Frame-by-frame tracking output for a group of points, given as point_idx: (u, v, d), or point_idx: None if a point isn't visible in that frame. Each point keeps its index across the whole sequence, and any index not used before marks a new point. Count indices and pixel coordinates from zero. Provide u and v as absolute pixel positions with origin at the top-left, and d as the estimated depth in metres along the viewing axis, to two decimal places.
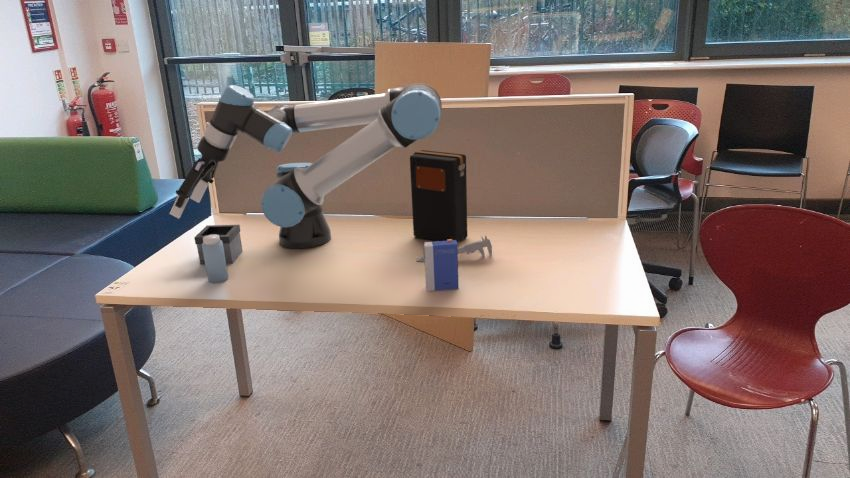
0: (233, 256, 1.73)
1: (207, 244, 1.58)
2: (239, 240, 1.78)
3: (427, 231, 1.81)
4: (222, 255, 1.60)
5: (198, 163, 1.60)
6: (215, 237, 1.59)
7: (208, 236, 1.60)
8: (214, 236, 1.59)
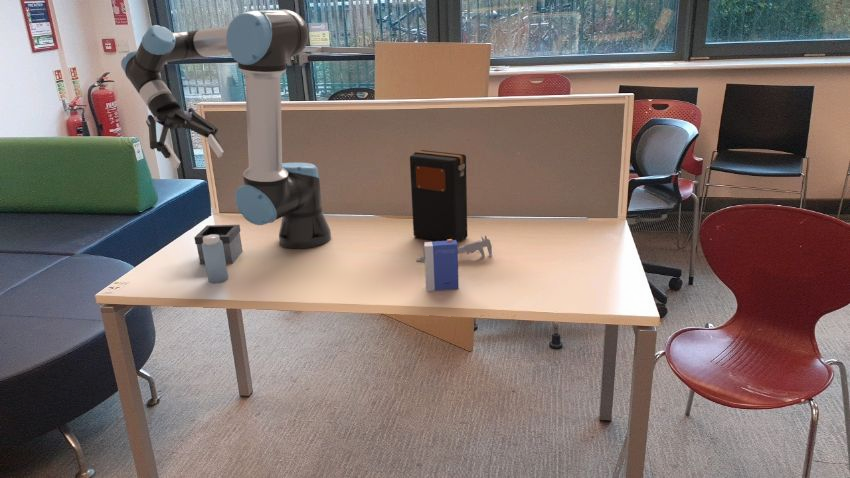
0: (233, 256, 1.73)
1: (207, 244, 1.58)
2: (239, 240, 1.78)
3: (427, 231, 1.81)
4: (222, 255, 1.60)
5: (147, 119, 1.71)
6: (215, 237, 1.59)
7: (208, 236, 1.60)
8: (214, 236, 1.59)
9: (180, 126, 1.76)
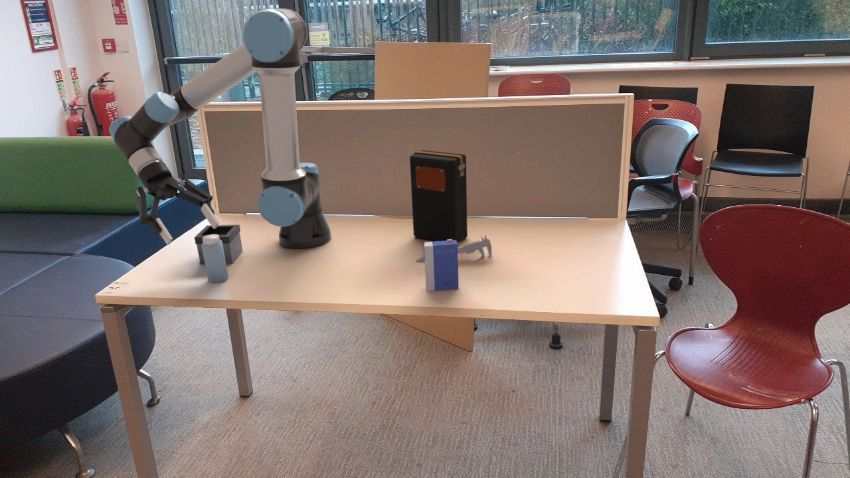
0: (233, 256, 1.73)
1: (207, 244, 1.58)
2: (239, 240, 1.78)
3: (427, 231, 1.81)
4: (221, 255, 1.60)
5: (136, 191, 1.60)
6: (215, 237, 1.59)
7: (208, 236, 1.60)
8: (214, 236, 1.59)
9: (172, 196, 1.65)
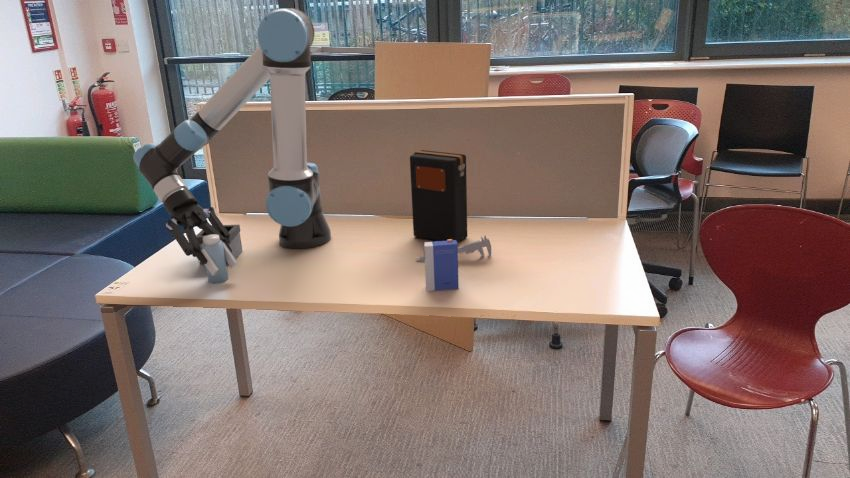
0: None
1: (207, 244, 1.58)
2: (239, 240, 1.78)
3: (427, 231, 1.81)
4: (221, 255, 1.60)
5: (166, 225, 1.57)
6: (215, 237, 1.59)
7: (208, 236, 1.60)
8: (214, 236, 1.59)
9: (198, 224, 1.63)
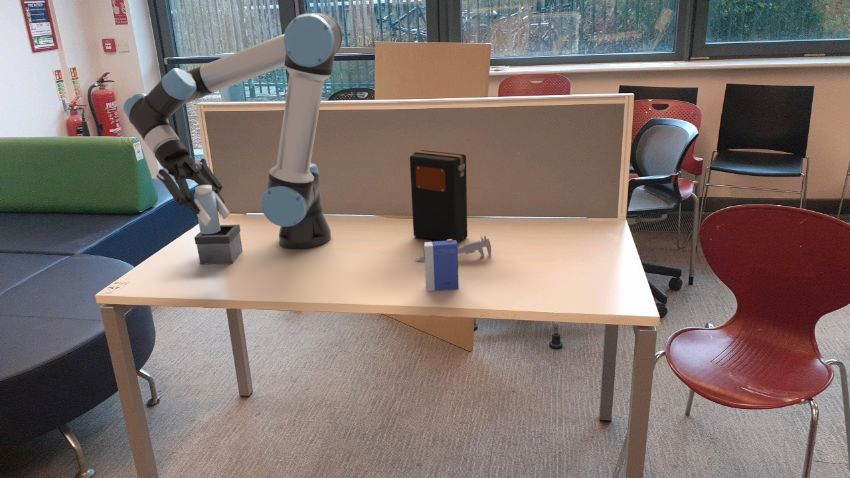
0: (233, 256, 1.73)
1: (199, 193, 1.56)
2: (239, 240, 1.78)
3: (427, 231, 1.81)
4: (214, 205, 1.58)
5: (157, 174, 1.56)
6: (207, 187, 1.57)
7: (200, 186, 1.58)
8: (206, 186, 1.58)
9: (190, 175, 1.61)
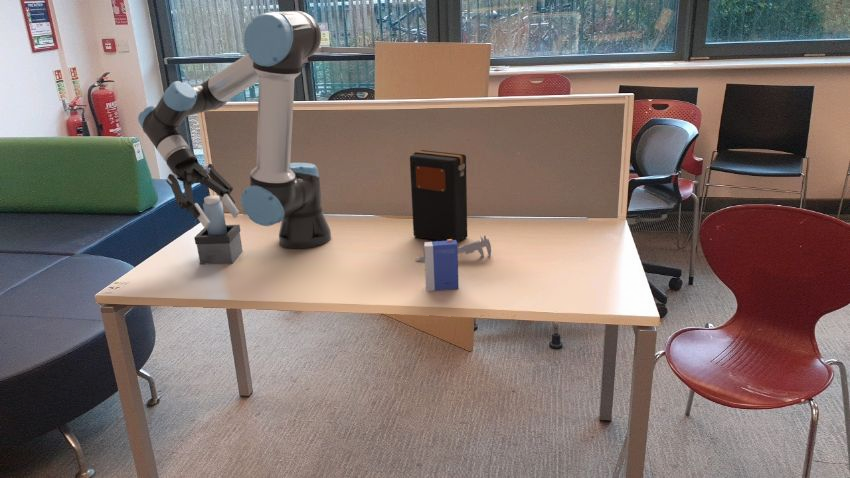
0: (233, 256, 1.73)
1: (208, 203, 1.69)
2: (239, 240, 1.78)
3: (427, 231, 1.81)
4: (221, 214, 1.71)
5: (167, 178, 1.69)
6: (215, 197, 1.70)
7: (209, 196, 1.71)
8: (215, 196, 1.71)
9: (199, 181, 1.74)
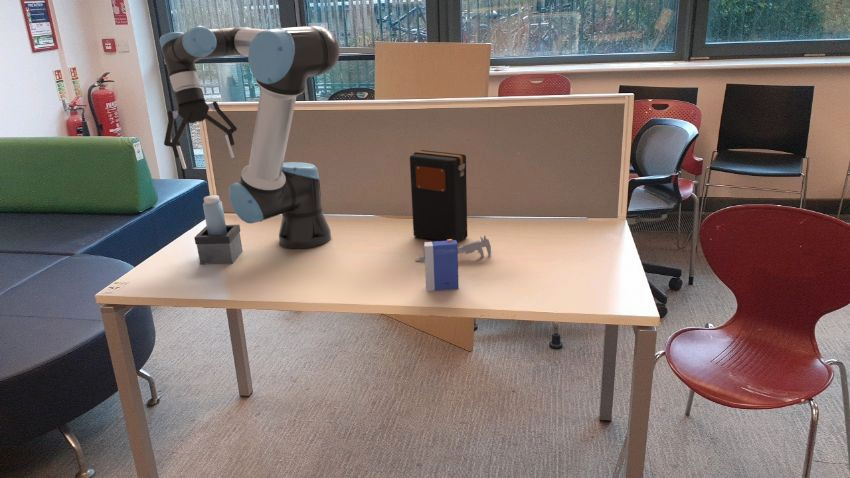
0: (233, 256, 1.73)
1: (208, 203, 1.69)
2: (239, 240, 1.78)
3: (427, 231, 1.81)
4: (221, 214, 1.71)
5: None
6: (215, 197, 1.70)
7: (208, 196, 1.71)
8: (214, 196, 1.71)
9: (200, 121, 1.80)
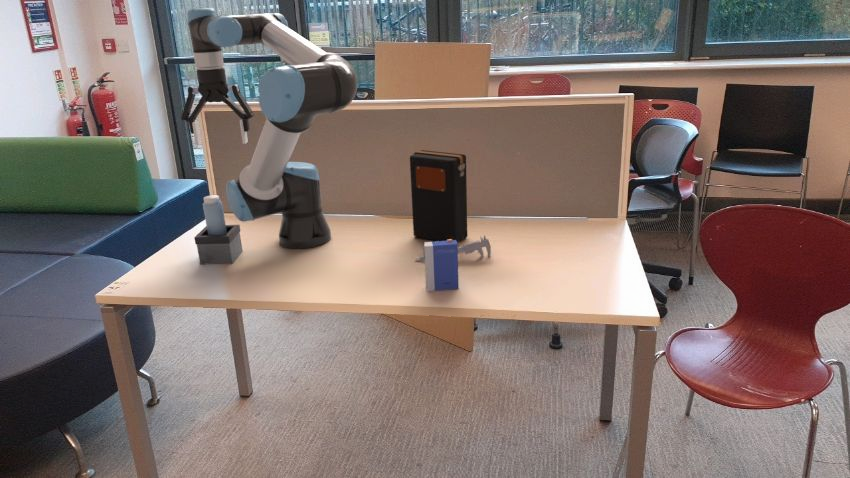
0: (233, 256, 1.73)
1: (207, 203, 1.69)
2: (239, 240, 1.78)
3: (427, 231, 1.81)
4: (221, 214, 1.71)
5: (190, 87, 1.77)
6: (215, 197, 1.70)
7: (208, 196, 1.71)
8: (214, 196, 1.71)
9: None
